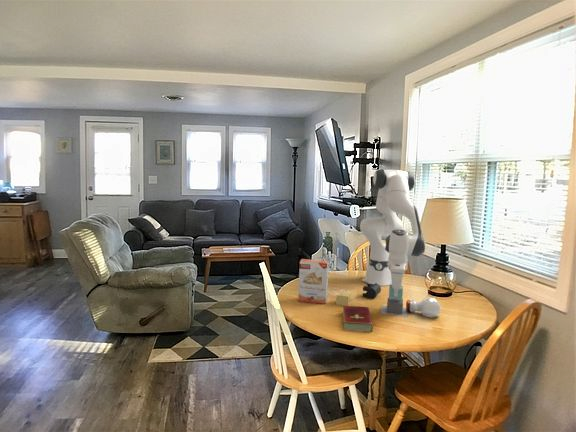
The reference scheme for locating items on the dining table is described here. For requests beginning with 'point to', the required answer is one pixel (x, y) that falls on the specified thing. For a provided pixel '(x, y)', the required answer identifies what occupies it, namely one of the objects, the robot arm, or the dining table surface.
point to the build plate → (404, 313)
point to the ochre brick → (342, 298)
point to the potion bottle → (424, 307)
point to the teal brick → (391, 293)
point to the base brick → (394, 306)
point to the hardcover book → (357, 318)
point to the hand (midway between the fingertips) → (395, 293)
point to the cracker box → (313, 281)
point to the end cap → (371, 290)
